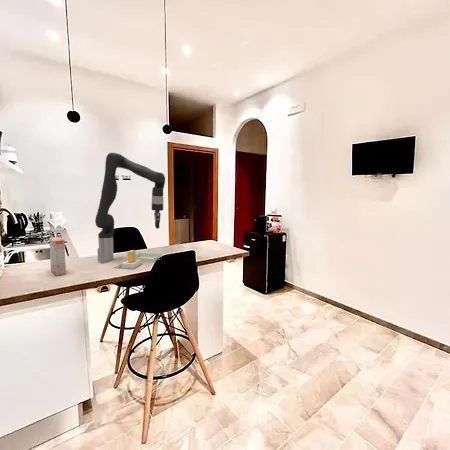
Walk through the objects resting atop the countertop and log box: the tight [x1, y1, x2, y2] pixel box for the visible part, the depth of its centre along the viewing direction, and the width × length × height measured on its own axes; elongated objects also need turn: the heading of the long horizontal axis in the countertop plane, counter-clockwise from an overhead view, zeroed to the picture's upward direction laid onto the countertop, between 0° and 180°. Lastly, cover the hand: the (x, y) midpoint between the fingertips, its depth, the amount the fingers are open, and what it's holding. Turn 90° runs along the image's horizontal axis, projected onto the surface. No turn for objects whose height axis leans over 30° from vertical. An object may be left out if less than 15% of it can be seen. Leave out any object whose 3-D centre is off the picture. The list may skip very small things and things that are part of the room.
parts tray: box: [135, 251, 162, 263], centre depth 190 cm, size 18×16×4 cm
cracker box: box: [48, 236, 67, 277], centre depth 156 cm, size 14×6×21 cm, turn 42°
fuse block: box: [113, 260, 143, 271], centre depth 172 cm, size 14×14×4 cm
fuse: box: [126, 249, 136, 263], centre depth 171 cm, size 3×5×10 cm, turn 172°
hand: (157, 227), depth 174 cm, fingers open, 8 cm apart
